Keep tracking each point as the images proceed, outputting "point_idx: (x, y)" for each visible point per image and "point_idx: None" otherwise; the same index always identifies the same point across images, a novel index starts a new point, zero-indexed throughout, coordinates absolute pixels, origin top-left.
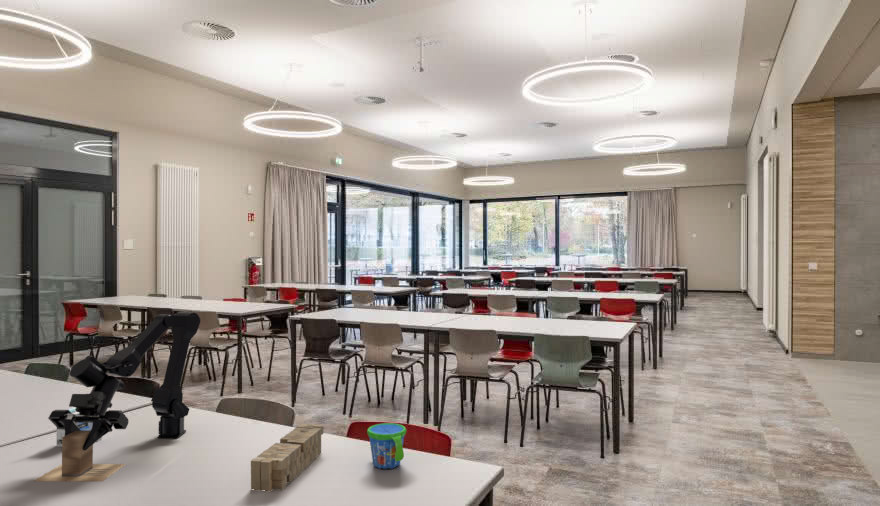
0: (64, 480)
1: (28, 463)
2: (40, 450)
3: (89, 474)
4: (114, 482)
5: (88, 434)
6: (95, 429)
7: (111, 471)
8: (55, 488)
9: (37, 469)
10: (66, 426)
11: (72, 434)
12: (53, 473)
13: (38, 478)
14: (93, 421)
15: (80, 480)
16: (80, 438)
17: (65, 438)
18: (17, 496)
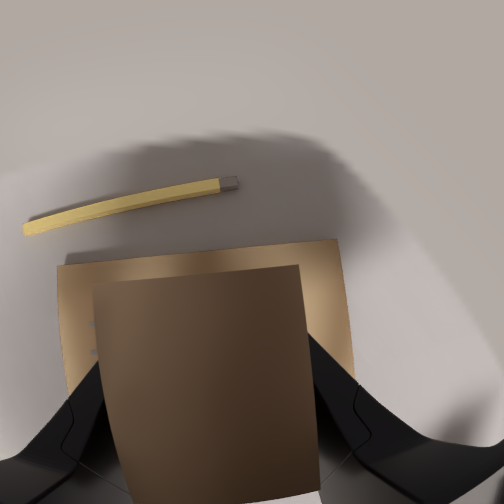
0: (208, 256)
1: (469, 401)
2: None
3: None
4: (36, 286)
5: (117, 430)
6: (39, 448)
7: (77, 364)
8: (212, 213)
9: (420, 372)
10: (415, 448)
11: (257, 379)
12: (318, 324)
13: (337, 265)
14: (17, 501)
15: (138, 262)
16: (96, 287)
17: (259, 269)
18: (296, 146)
